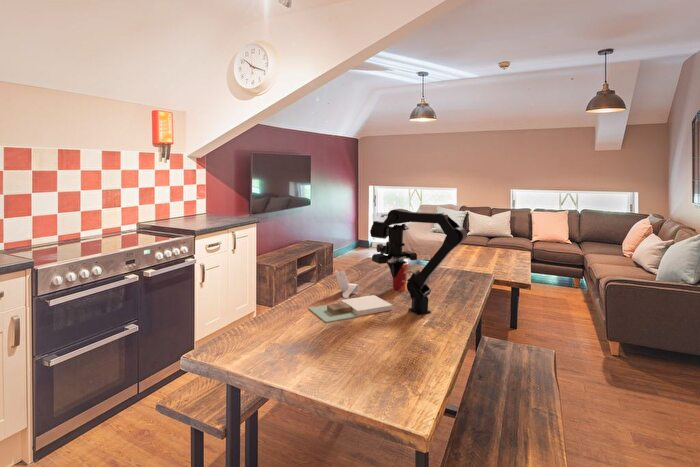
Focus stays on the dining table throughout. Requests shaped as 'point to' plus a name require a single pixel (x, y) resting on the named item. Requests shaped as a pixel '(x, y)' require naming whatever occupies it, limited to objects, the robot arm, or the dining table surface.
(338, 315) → the mat
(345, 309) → the walnut tile
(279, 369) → the dining table surface
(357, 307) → the deck
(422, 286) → the robot arm
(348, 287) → the plastic part
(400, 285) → the paper cup
